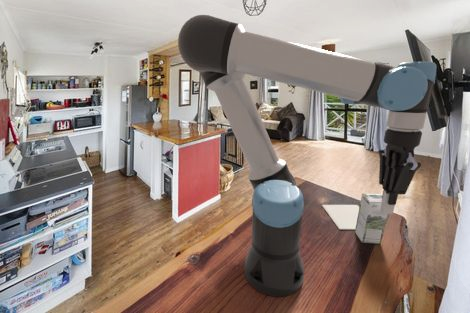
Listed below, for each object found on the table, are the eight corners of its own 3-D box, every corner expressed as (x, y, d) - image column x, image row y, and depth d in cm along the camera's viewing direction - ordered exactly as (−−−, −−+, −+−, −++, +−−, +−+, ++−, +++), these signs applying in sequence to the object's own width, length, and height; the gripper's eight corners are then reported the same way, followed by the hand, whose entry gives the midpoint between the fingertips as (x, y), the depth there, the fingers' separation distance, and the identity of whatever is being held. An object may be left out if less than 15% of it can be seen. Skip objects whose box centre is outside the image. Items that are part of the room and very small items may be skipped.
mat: (339, 229, 78) (339, 228, 78) (322, 205, 94) (322, 204, 94) (381, 229, 78) (381, 228, 78) (356, 205, 94) (356, 204, 94)
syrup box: (372, 233, 76) (380, 193, 72) (381, 245, 71) (391, 202, 66) (354, 232, 77) (361, 192, 73) (362, 243, 71) (369, 201, 67)
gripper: (440, 134, 52) (417, 226, 58) (401, 124, 64) (385, 201, 71) (406, 134, 52) (386, 226, 59) (374, 124, 64) (360, 201, 71)
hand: (386, 212), depth 65 cm, fingers closed
